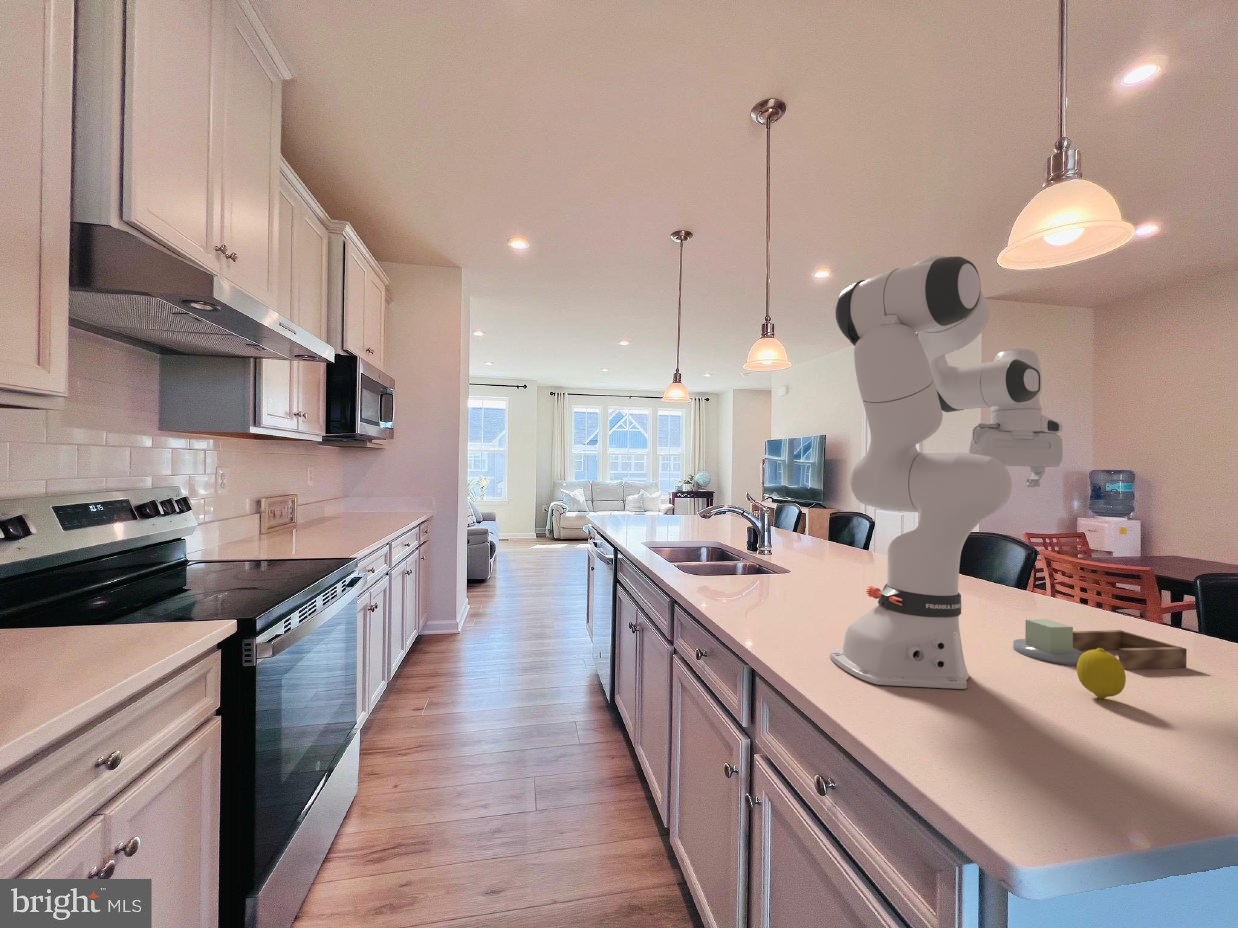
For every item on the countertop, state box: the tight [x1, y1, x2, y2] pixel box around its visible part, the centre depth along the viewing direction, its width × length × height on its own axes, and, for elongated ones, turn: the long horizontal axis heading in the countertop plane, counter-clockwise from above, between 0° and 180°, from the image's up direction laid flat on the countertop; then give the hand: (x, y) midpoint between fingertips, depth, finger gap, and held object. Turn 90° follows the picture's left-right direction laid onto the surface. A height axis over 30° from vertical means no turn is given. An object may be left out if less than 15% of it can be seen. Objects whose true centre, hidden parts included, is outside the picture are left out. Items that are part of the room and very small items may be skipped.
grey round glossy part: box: [1012, 638, 1085, 666], centre depth 97 cm, size 11×11×1 cm
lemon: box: [1076, 648, 1127, 700], centre depth 77 cm, size 6×6×8 cm
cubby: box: [1073, 629, 1188, 671], centre depth 96 cm, size 14×11×4 cm
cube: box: [1024, 618, 1074, 653], centre depth 97 cm, size 5×5×5 cm
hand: (1014, 486), depth 107 cm, fingers open, 8 cm apart
